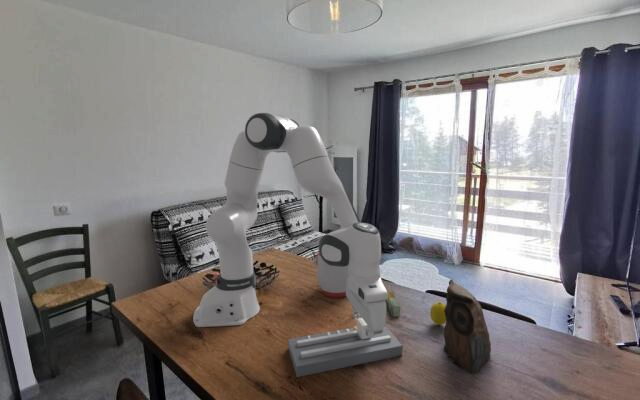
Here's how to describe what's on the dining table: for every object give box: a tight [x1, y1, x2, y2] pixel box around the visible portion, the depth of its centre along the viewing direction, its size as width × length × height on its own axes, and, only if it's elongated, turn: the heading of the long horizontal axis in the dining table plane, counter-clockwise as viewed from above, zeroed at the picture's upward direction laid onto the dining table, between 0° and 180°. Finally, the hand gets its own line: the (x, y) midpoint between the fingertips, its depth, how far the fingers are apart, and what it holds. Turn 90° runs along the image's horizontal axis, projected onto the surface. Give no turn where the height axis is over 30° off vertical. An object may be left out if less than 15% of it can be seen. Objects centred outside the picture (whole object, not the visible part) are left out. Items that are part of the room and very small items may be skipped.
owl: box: [443, 279, 492, 375], centre depth 88 cm, size 13×13×20 cm
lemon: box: [429, 301, 446, 326], centre depth 103 cm, size 6×6×8 cm
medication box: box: [385, 290, 401, 318], centre depth 115 cm, size 12×3×4 cm, turn 1°
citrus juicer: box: [311, 252, 348, 298], centre depth 127 cm, size 16×17×20 cm
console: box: [287, 325, 403, 378], centre depth 91 cm, size 30×12×4 cm, turn 106°
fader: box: [355, 317, 371, 341], centre depth 92 cm, size 3×4×5 cm
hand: (362, 326), depth 92 cm, fingers open, 8 cm apart
